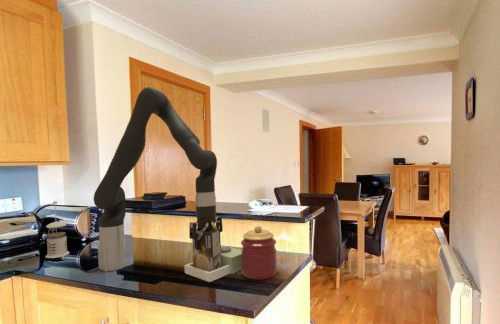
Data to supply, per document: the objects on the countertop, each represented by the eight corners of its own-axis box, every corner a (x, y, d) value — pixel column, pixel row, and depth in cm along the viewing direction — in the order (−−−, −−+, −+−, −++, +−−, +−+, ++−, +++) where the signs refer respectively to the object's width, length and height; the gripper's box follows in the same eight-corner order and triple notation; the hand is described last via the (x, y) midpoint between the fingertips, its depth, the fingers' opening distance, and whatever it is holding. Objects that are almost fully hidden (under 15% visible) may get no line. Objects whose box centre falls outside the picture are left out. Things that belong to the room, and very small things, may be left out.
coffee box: (222, 271, 120) (221, 229, 119) (214, 277, 114) (212, 233, 113) (202, 268, 123) (200, 227, 123) (192, 274, 118) (191, 231, 117)
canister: (279, 268, 121) (278, 222, 121) (274, 281, 109) (272, 230, 108) (246, 266, 124) (245, 221, 124) (237, 279, 112) (236, 229, 111)
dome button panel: (211, 282, 109) (210, 262, 109) (183, 272, 120) (182, 254, 120) (248, 266, 123) (247, 249, 123) (219, 258, 134) (219, 242, 134)
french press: (50, 259, 141) (47, 203, 140) (39, 255, 148) (37, 201, 147) (73, 253, 149) (70, 200, 148) (62, 249, 156) (60, 198, 155)
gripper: (213, 200, 126) (214, 241, 126) (183, 205, 115) (185, 250, 115) (226, 202, 121) (227, 244, 121) (197, 207, 110) (198, 253, 110)
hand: (207, 247), depth 118 cm, fingers open, 8 cm apart
